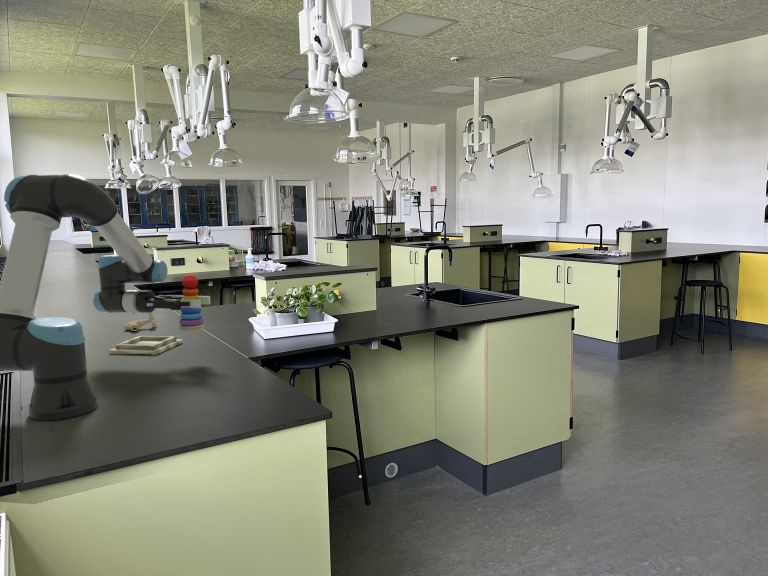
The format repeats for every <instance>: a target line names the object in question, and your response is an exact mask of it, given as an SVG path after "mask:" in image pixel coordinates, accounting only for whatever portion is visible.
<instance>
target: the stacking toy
mask: <svg viewBox="0 0 768 576" xmlns="http://www.w3.org/2000/svg"><path fill="white" fill-rule="evenodd" d="M181 284H182V286H183V287H184V288H183V289H182V292H181V293H182V295H183V296H182V299H199V296H200V295H198V294H199V289H198V288H197V286H198V284H199V279H198V277H197V276H196V275H195V274H193V273H189V274H186V275H185V274H184V276H183V277H182V279H181ZM180 312H181V313H180V316H179V317H180V319H179V322H178V323H179V330H180V331H181V332H184V333H192V332H193V333H194V332H200V331H202V330H204V328H205V324H204V318H203V312H202V307H201V308H181V310H180Z"/></svg>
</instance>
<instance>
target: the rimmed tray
mask: <svg viewBox="0 0 768 576" xmlns="http://www.w3.org/2000/svg"><path fill="white" fill-rule="evenodd" d="M181 343H182V344H183V339H178V338H177V336H176V335H175V336H172V335H170V336H169V335H168V336H167V335H139V336H136V337H132V338H130V339H128V340H125V341H122V342H120V343H117V344H115V347H114V348H111V349H109V350H108V351H109V355H127V354H151V355H150V356H157V354H158V355H160V354H162V353H164V352H167V351H169V350H171V349H173V348H175V347H177V346H176V345H178V346H180V345H182V344H181ZM179 344H180V345H179ZM174 346H175V347H174ZM172 347H173V348H172ZM170 348H171V349H170ZM168 349H169V350H168ZM166 350H167V351H166ZM163 351H164V352H163ZM161 352H162V353H161ZM159 353H160V354H159Z"/></svg>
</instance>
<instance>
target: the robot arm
mask: <svg viewBox="0 0 768 576" xmlns="http://www.w3.org/2000/svg"><path fill="white" fill-rule="evenodd" d="M3 199H4V200H3V201H4V202H5V205H4V206H5V208H6V211H7V212H8V213H9V215H10V216H9V217H10V219H11V221H13V223H14V228H13V231H12V235H11V240H10V244H9V247H8V248H9V249H8V252H7V257H6V260H5V263H4V264H5V265H4V267H3V268H4V269H3V272H2V276H1V280H0V372H4V371H6V372H10V371H11V372H12V371H13V372H17V371H18V372H24V371H25V372H30V371H31V372H32V373H33V385H34V386H33V388H32V389H33V390H32V393H31V398H30V403H29V405H28V415H29V418H30V419H32V420H33V421H34V420H35V421H45V422H46V421H58V420H60V421H61V420H66V419H71V418H74V417H79V416H81V415H85V414H87V413H89V412H92V411H93V410H95V409H97V408H98V404H99V402H98V395H97V394H96V393H95V391H94V388H93V386H92V384H91V382H90V379H89V377H88V367H87V356H86V355H87V354H86V345H85V339H86V337H85V335H84V330H83V325H82V324H81V323H80V322H79V321H78V320H76V319H73V318H70V317H69V318H67V317H61V316H60V317H57V316H56V317H55V316H54V317H39V318H37V317H36V316H35V309H36V306H37V305H36V304H37V300H38V296H39V292H40V291H39V290H40V286H41V282H42V278H43V273H44V269H45V266H46V260H47V255H48V253H49V252H48V250H49V246H50V243H51V242H50V241H51V237H52V232H55V231H56V230H58V229H60V225H61V222H62V218H78V219H81V220H83V221H84V222H85V223H86V224H87V225H88V226H90V227H92V228H93V227H94V228H95V229H96V231H98V233H99V234H100V235H101V236H102V237H103V238H104V240H105V241H106V242H107V243H108V244H109V246H110V247H111V248H112V249H113V250H114V252H115V253H116V254H106V255H101V256H99V257H98V274H99V275H98V276H99V283H100V290H98V291H96V292H95V293H94V295H93V300H92V302H93V303H92V304H93V307H94V308H95V310H97V311H98V312H101V313H102V312H103V313H131V314H132V315H135V314H136V313H141V314H143V313H146V314H148V313H151V312H152V313H153V312H154V311H155V310H156V309H163V310H164V309H167V310H168V309H170V310H175V309H176V310H177V311H181V308H201V309H202V305H211V296H210V295H205V296H204V295H198V296H199V299H182V296H183V295H184V294H180V295H179V294H177V295H176V294H175V295H174V294H173V295H172V294H167V295H165V294H158V295H156V293H155V292H154V291H153V290H150V289H148V290H147V289H146V290H145V289H144V290H142V289H127V290H126V284H154V283H164V282H165V281H166V279H167V276H168V266H167V263H166V262H165V261H163V260H158V259H153V257H152V256H151V254H150V253H149V252H148V251H147V250H146V248H145V247H144V246H143V244H142V243H141V241H140V240H139V239H138V237H137V236H136V234H135V233H134V232H133V231H132V230H131V228H130V227H129V225H128V224H127V222H126V221H125V220H124V219H123V218H122V216H121V214H120V213H119V208H118V207H119V206H118V205H117V203H116V202H115V201H114V199H113V198H112V197H111V196H110V195H109V194H108V193H107V192H106V191H105V190H104V189H102V188H101V187H100V186H99V185H97V184H95V183H94V182H92V181H91V180H89V179H87V178H85V177H82V176H80V175H77V174H76V175H75V174H70V173H68V174H67V173H66V174H44V175H43V174H41V175H40V174H27V175H20V176H18V177H15V178H13V179H11V181H9V183H8V184H7V186H6V187H5V190H4V195H3Z"/></svg>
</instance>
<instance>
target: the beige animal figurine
mask: <svg viewBox="0 0 768 576" xmlns="http://www.w3.org/2000/svg"><path fill="white" fill-rule="evenodd" d="M147 314H148V316H149V319H142V320H139V319H138V320H133V321H130V322H128V323H126V324H124V325H123V327H124V330H125V331H126V330H130V331H131V332H132V331H134V330H136V331H137V332H138V331H139V329H140V328H142V327H143V326H145V325H147V324H150V323H151V325H152V328H153V327H156V328H157V324H156V323H157V322H156V318H155V316H154V314H153V312H151V313H147Z"/></svg>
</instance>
